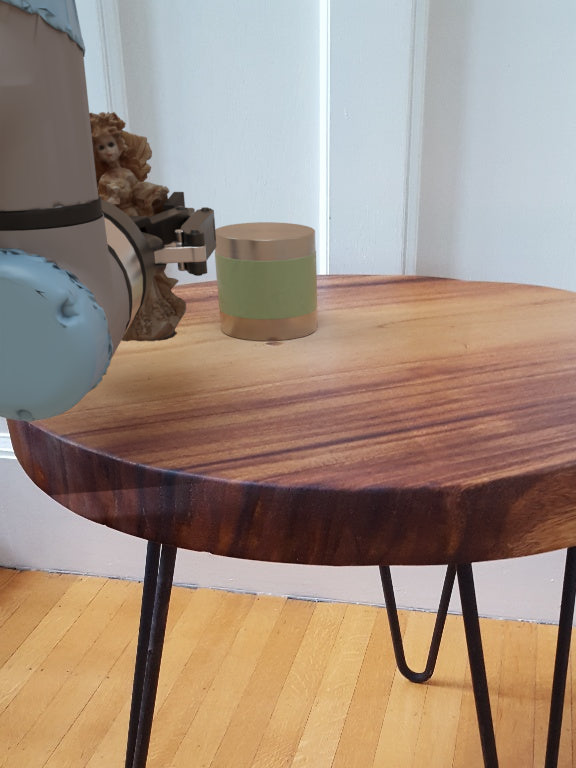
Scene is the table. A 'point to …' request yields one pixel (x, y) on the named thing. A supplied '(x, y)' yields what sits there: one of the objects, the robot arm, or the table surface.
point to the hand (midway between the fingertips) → (138, 210)
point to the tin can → (266, 280)
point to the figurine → (135, 198)
